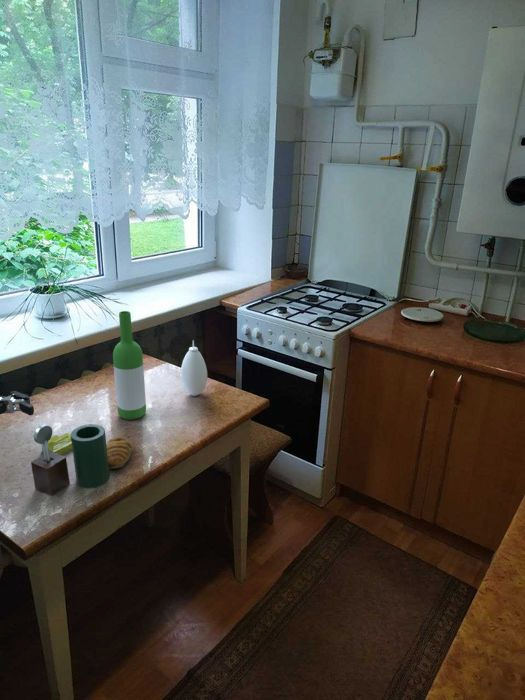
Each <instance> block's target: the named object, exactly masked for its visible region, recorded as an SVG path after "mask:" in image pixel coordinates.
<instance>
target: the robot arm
mask: <svg viewBox="0 0 525 700" xmlns="http://www.w3.org/2000/svg"><path fill="white" fill-rule="evenodd" d="M9 394H10V395H8V396H4V395H0V415H2V414H13V413H15V412H22V413H23V414H26V415H28V416H33V415H34V414H35V409H34V405H33V404H31V398H30V395H28V394H24V393H22V392H18V391H17V390H12V391H10V393H9ZM16 404H17V405H18V406H16ZM8 405H9V408H8Z"/></svg>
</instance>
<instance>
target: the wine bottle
mask: <svg viewBox="0 0 525 700" xmlns="http://www.w3.org/2000/svg"><path fill="white" fill-rule="evenodd" d="M118 318H119V319H118V321H119V333H120V334H119V335H120V341H119V342H118V343H117V344H116V345H115V347H114V349H113V352H112V362H113V372H114V375H113V376H114V384H115V385H114V387H115V396H116V408H117V414H118V416H119V417H120V418H121V419H124V420H129V421H132V420H133V421H134V420H137V419H141V418H142V417H144V415H146V412H147V411H146V410H147V399H146V384H145V383H146V382H145V370H144V369H145V368H144V355H143V350H142V348H141V346H140V345H139V344H138V343H137V342H136V341H134V339H133V328H132V314H131V312H130V311H128V310H122V311H120V312H119V313H118Z"/></svg>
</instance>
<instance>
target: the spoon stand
mask: <svg viewBox="0 0 525 700" xmlns="http://www.w3.org/2000/svg"><path fill="white" fill-rule="evenodd" d="M50 457H51V461H50V462H45V458H44V454H42V455H40V456H38V457H37V458H35V459H33V460H32V461H31V462H30V465H31V470H32V478H33V483H34V488H35V490H36V491H38V492H41V493H42V494H45V495H48V496H50V497H53V496H54V495H56V494H58V493H59V492H60V491H62V490H63V489H64V488H66V487H67V486H69V485H70V476H69V467H68V461H67V457H66V456H64V455H63V454H62V455H59V454H57V453H54V452H52V451H50Z"/></svg>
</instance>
